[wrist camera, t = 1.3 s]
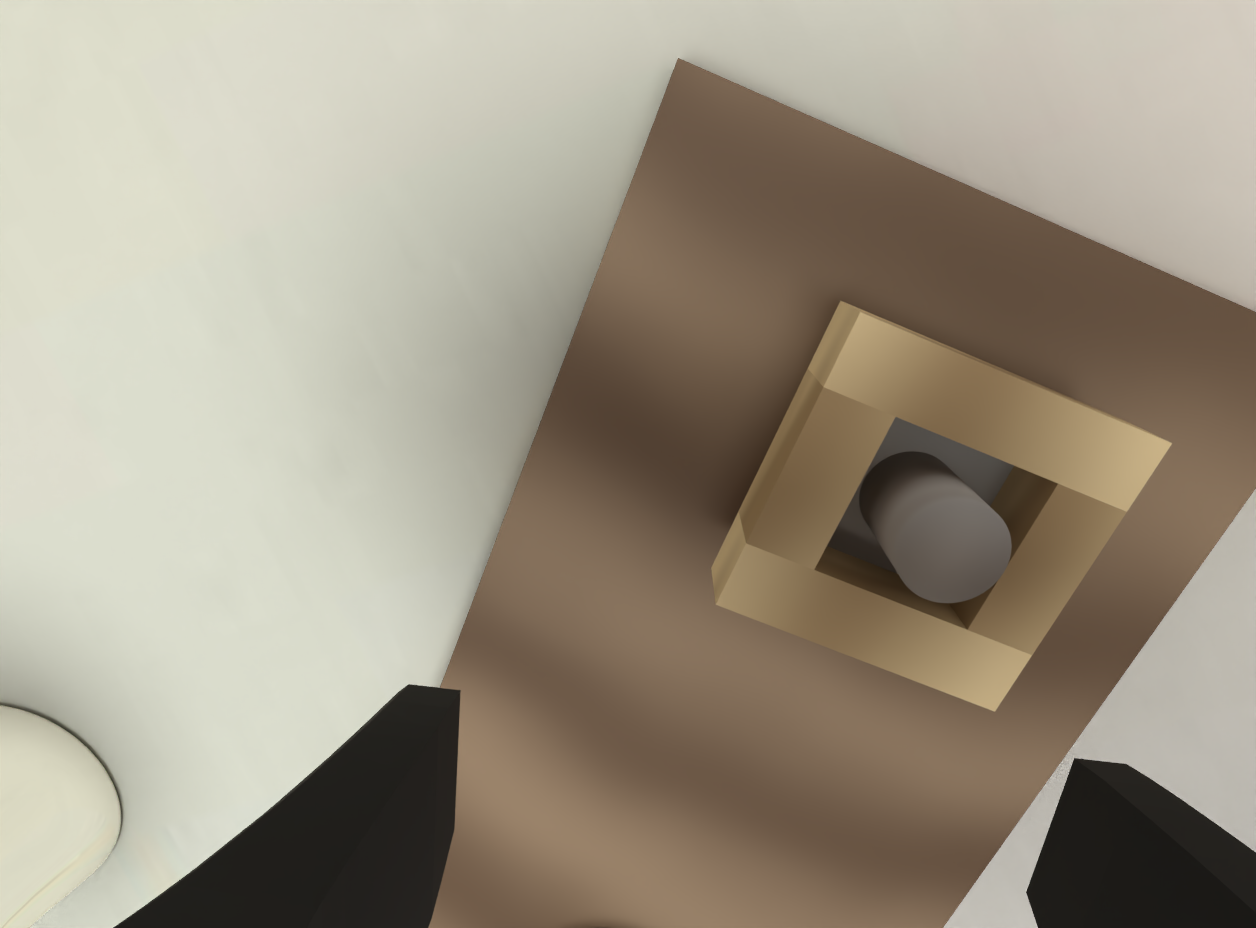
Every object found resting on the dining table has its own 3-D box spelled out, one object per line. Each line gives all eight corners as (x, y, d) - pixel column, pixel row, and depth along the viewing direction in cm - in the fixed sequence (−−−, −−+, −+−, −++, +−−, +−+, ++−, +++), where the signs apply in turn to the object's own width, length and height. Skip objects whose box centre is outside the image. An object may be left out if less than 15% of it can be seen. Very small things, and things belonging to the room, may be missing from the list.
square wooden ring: (1122, 419, 14) (1172, 443, 13) (965, 666, 16) (995, 712, 15) (840, 300, 14) (860, 311, 12) (711, 568, 16) (716, 604, 14)
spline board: (677, 70, 16) (682, 0, 10) (1292, 341, 17) (1601, 410, 11) (327, 992, 24) (226, 1228, 18) (752, 1131, 25) (776, 1394, 20)
